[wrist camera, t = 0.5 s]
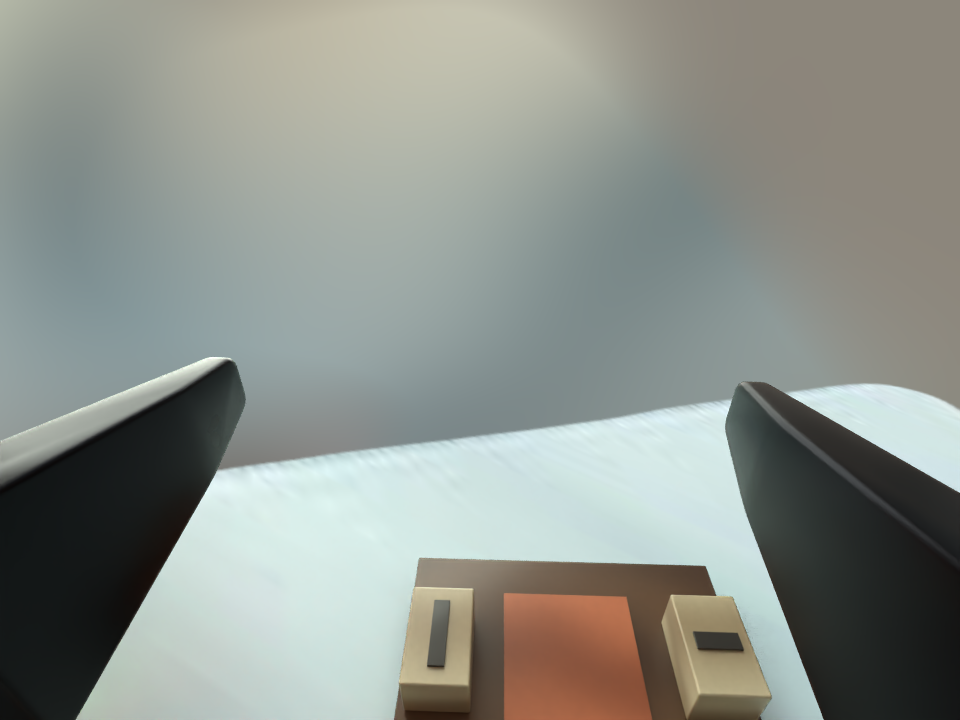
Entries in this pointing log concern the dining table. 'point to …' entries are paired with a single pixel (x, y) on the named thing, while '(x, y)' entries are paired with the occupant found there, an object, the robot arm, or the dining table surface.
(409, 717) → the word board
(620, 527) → the dining table surface
